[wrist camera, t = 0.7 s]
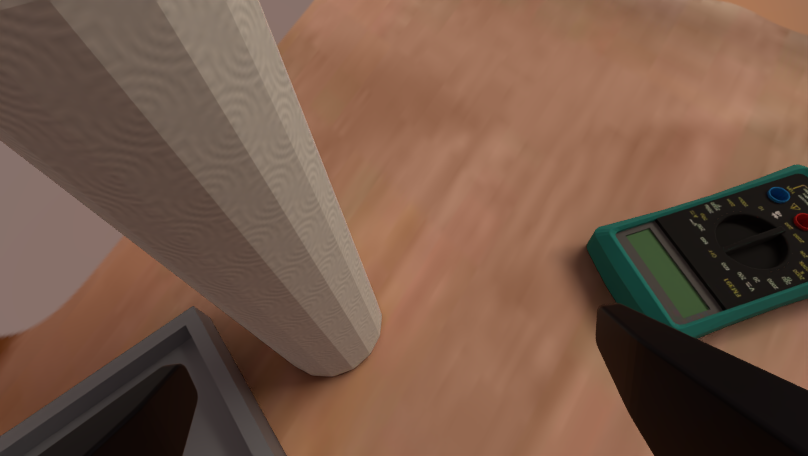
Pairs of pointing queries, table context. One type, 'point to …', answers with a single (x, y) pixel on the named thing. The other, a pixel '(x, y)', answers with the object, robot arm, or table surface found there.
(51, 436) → the tray
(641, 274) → the digital multimeter
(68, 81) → the paper towel roll
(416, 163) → the table surface
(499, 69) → the table surface
